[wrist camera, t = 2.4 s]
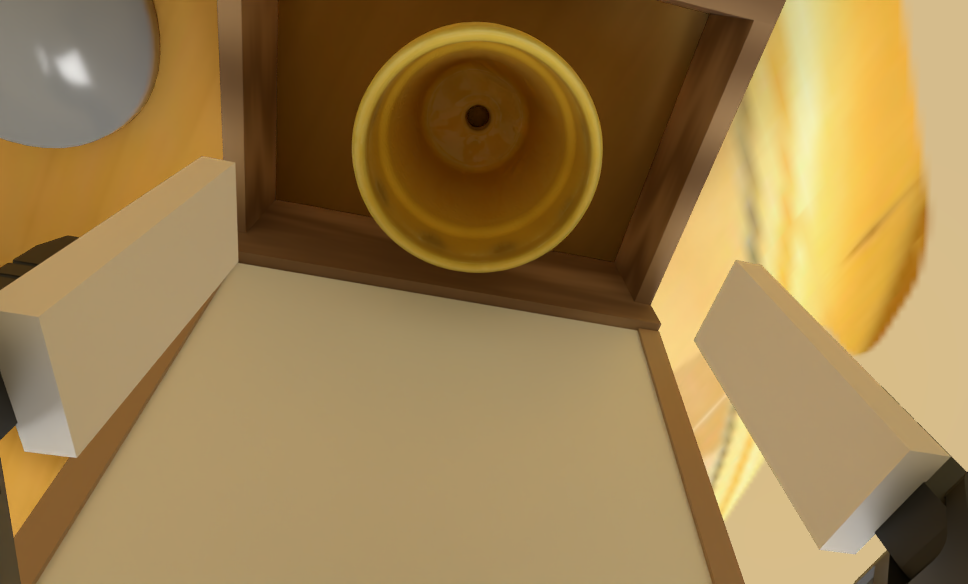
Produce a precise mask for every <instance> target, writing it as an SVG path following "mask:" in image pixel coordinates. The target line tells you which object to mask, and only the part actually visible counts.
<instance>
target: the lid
mask: <svg viewBox="0 0 968 584" xmlns="http://www.w3.org/2000/svg"><path fill="white" fill-rule="evenodd" d="M14 544H15V550H16V556H17V562H18V568H19V574H20V580H21V584H745V583H744V580H743V577H742V574H741V571H740V568H739V565H738V562H737V559H736V556H735V553H734V551H733V547H732V545H731V542H730V539H729V536H728V533H727V530H726V527H725V524H724V521H723V518H722V515H721V512H720V509H719V506H718V503H717V500H716V497H715V495H714V492H713V489H712V486H711V483H710V480H709V477H708V474H707V471H706V468H705V465H704V462H703V459H702V456H701V453H700V450H699V447H698V445H697V442H696V439H695V436H694V433H693V430H692V427H691V424H690V421H689V418H688V415H687V412H686V409H685V406H684V403H683V400H682V397H681V395H680V392H679V389H678V386H677V383H676V380H675V377H674V374H673V371H672V368H671V365H670V362H669V359H668V356H667V353H666V350H665V347H664V344H663V342H662V339H661V336H660V333H659V331H653V330H647V329H642V328H639V329H638V330H631V329H625V328H619V327H614V326H608V325H602V324H596V323H590V322H584V321H578V320H572V319H566V318H560V317H555V316H549V315H543V314H537V313H531V312H525V311H519V310H513V309H507V308H501V307H496V306H490V305H484V304H478V303H472V302H466V301H460V300H454V299H448V298H442V297H436V296H431V295H425V294H419V293H413V292H407V291H401V290H395V289H389V288H383V287H377V286H372V285H366V284H360V283H354V282H348V281H342V280H336V279H330V278H324V277H318V276H313V275H307V274H301V273H295V272H289V271H283V270H277V269H271V268H265V267H259V266H254V265H248V264H242V263H237V264H236V265H235V266H234V268H233V269H232V270H231V271H230V273H229V274H228V275H227V276H226V277H225V279H224V280H223V281H222V282H221V283H220V285H219V286H218V287H217V288H216V290H215V291H214V292H213V293H212V294H211V296H210V297H209V298H208V299H207V301H206V302H205V303H204V304H203V305H202V307H201V308H200V309H199V310H198V311H197V313H196V314H195V315H194V316H193V318H192V319H191V320H190V321H189V322H188V324H187V325H186V326H185V327H184V328H183V330H182V331H181V332H180V333H179V335H178V336H177V337H176V338H175V339H174V341H173V342H172V343H171V344H170V345H169V347H168V348H167V349H166V350H165V352H164V353H163V354H162V355H161V356H160V358H159V359H158V360H157V361H156V362H155V364H154V365H153V366H152V367H151V369H150V370H149V371H148V372H147V373H146V375H145V376H144V377H143V378H142V379H141V381H140V382H139V383H138V384H137V386H136V387H135V388H134V389H133V390H132V392H131V393H130V394H129V395H128V397H127V398H126V399H125V400H124V401H123V403H122V404H121V405H120V406H119V407H118V409H117V410H116V411H115V412H114V414H113V415H112V416H111V417H110V418H109V420H108V421H107V422H106V423H105V424H104V426H103V427H102V428H101V429H100V431H99V432H98V433H97V434H96V435H95V437H94V438H93V439H92V440H91V441H90V443H89V444H88V445H87V446H86V448H85V449H84V450H83V451H82V452H81V454H80V455H79V456H78V457H77V458H73V457H69V459H68V460H67V462H66V463H65V465H64V466H63V467H62V469H61V470H60V472H59V473H58V475H57V476H56V478H55V479H54V480H53V482H52V483H51V485H50V486H49V488H48V489H47V491H46V492H45V493H44V495H43V496H42V498H41V499H40V501H39V502H38V504H37V505H36V506H35V508H34V509H33V511H32V512H31V514H30V515H29V517H28V518H27V519H26V521H25V522H24V524H23V525H22V527H21V528H20V530H19V531H18V532H17V534H16V535H15V537H14Z"/></svg>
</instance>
